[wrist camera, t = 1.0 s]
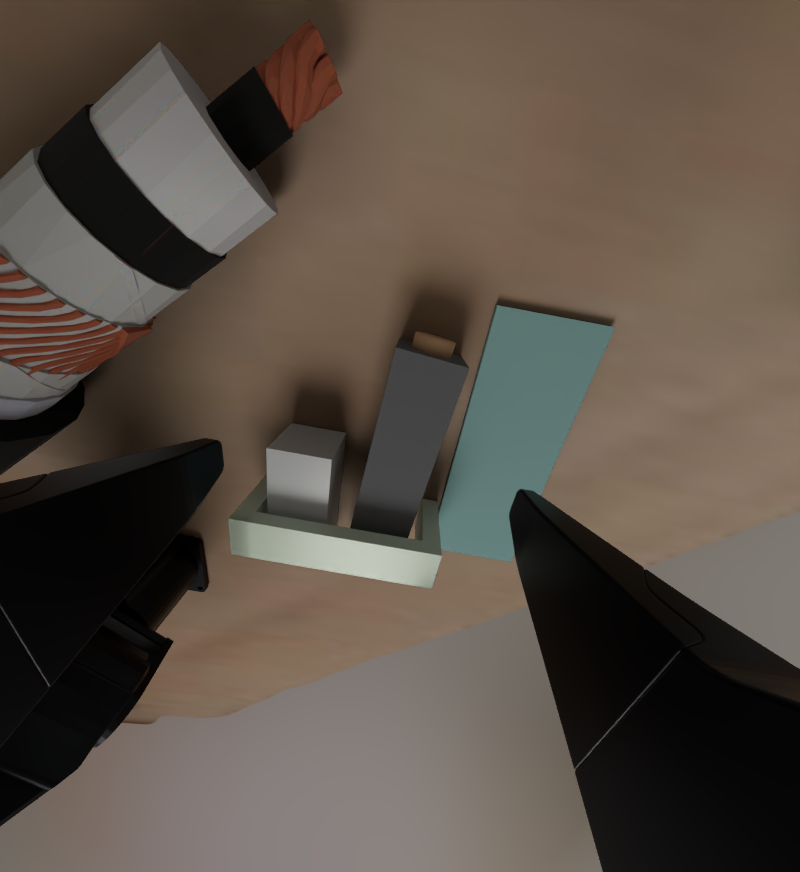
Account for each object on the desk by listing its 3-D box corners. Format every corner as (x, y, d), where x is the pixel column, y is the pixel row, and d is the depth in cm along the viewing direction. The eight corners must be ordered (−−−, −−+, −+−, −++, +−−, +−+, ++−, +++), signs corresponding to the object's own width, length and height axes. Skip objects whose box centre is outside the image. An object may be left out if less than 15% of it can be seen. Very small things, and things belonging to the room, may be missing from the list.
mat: (509, 558, 26) (511, 562, 26) (429, 544, 26) (429, 547, 26) (611, 326, 18) (615, 327, 18) (495, 304, 18) (497, 305, 18)
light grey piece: (429, 530, 25) (431, 588, 20) (269, 502, 25) (231, 554, 20) (437, 501, 24) (441, 555, 19) (269, 471, 24) (228, 518, 19)
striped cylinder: (366, 180, 20) (411, 211, 13) (23, 436, 25) (-72, 551, 18) (238, -98, 12) (189, -358, 6) (-203, 345, 18) (-494, 479, 11)
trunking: (336, 528, 26) (322, 565, 22) (289, 519, 26) (268, 556, 22) (346, 432, 22) (331, 459, 19) (291, 422, 22) (266, 448, 19)
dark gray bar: (395, 544, 27) (391, 583, 23) (350, 533, 27) (339, 570, 23) (464, 342, 19) (474, 353, 16) (403, 324, 19) (399, 331, 16)
